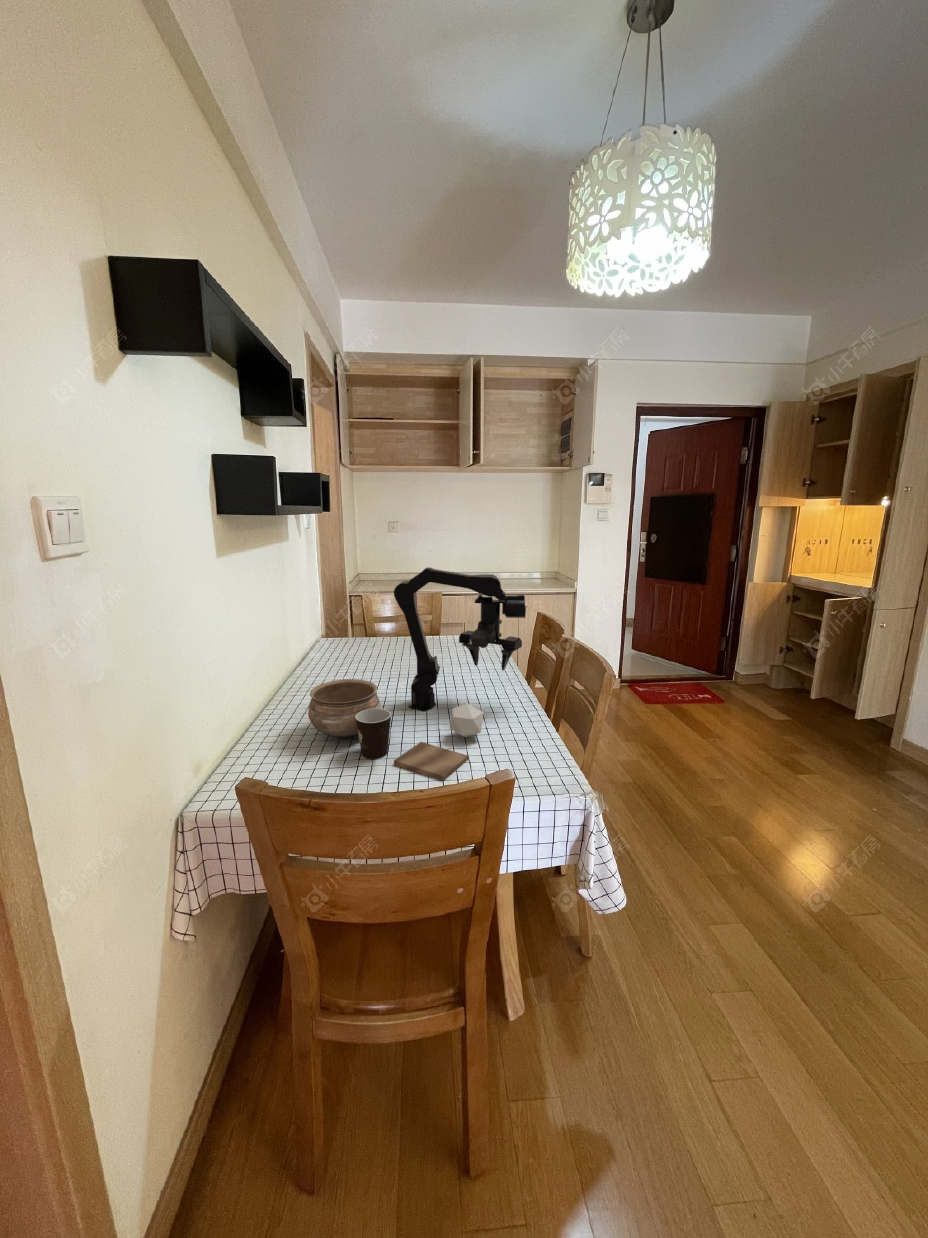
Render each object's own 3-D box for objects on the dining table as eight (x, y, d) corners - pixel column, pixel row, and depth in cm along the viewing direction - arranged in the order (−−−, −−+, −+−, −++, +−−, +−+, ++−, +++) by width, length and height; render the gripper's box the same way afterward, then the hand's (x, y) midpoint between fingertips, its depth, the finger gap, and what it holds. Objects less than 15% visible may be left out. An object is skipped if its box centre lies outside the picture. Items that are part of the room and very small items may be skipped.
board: (394, 765, 115) (394, 760, 114) (421, 746, 124) (420, 741, 124) (443, 781, 108) (443, 776, 107) (468, 760, 117) (468, 755, 117)
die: (489, 738, 128) (490, 703, 126) (463, 748, 123) (463, 712, 120) (469, 727, 134) (469, 694, 132) (443, 737, 129) (443, 702, 127)
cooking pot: (332, 712, 145) (329, 673, 142) (393, 716, 142) (391, 676, 139) (291, 752, 121) (287, 706, 118) (363, 757, 118) (361, 711, 115)
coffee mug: (359, 745, 124) (357, 709, 122) (393, 744, 125) (392, 707, 123) (353, 768, 113) (351, 729, 111) (390, 767, 114) (389, 727, 111)
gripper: (449, 619, 141) (449, 670, 144) (507, 626, 132) (505, 680, 135) (468, 612, 150) (467, 660, 154) (523, 619, 141) (521, 670, 145)
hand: (489, 667), depth 147 cm, fingers open, 9 cm apart
